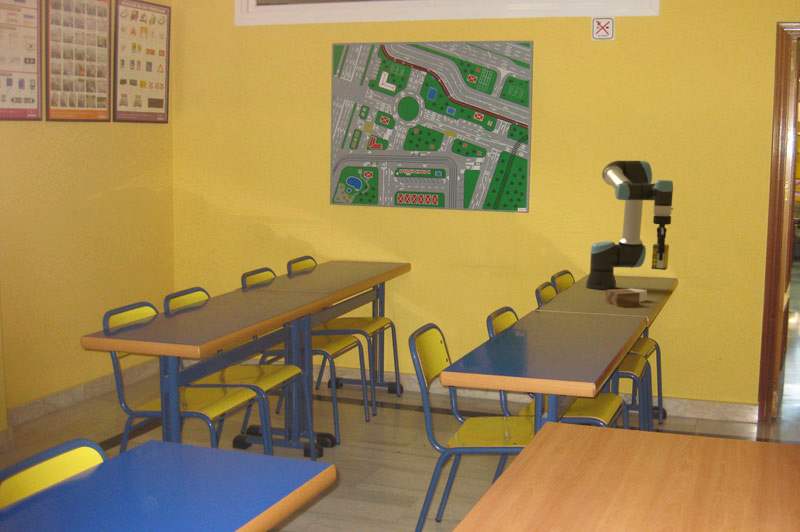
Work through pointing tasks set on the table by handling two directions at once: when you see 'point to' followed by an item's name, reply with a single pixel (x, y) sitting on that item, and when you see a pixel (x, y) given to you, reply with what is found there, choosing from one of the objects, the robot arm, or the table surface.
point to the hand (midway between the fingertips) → (659, 266)
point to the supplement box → (654, 255)
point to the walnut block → (622, 297)
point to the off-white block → (641, 294)
